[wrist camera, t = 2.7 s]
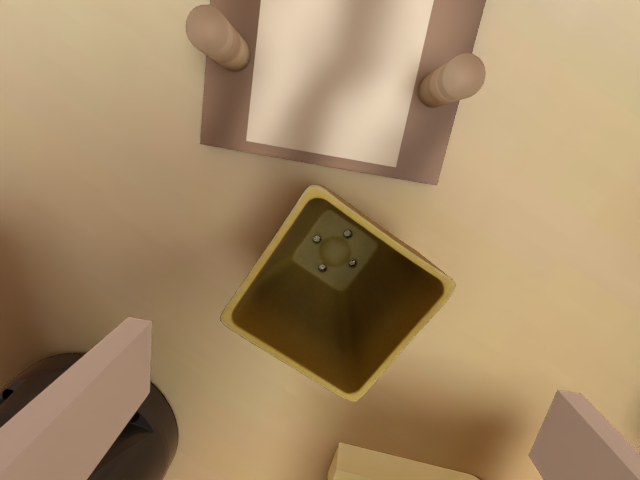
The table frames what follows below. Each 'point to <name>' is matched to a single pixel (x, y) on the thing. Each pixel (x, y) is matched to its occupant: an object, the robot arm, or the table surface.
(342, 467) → the slatted curved stool
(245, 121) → the pin board
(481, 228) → the table surface
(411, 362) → the table surface
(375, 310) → the flower pot
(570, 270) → the table surface
